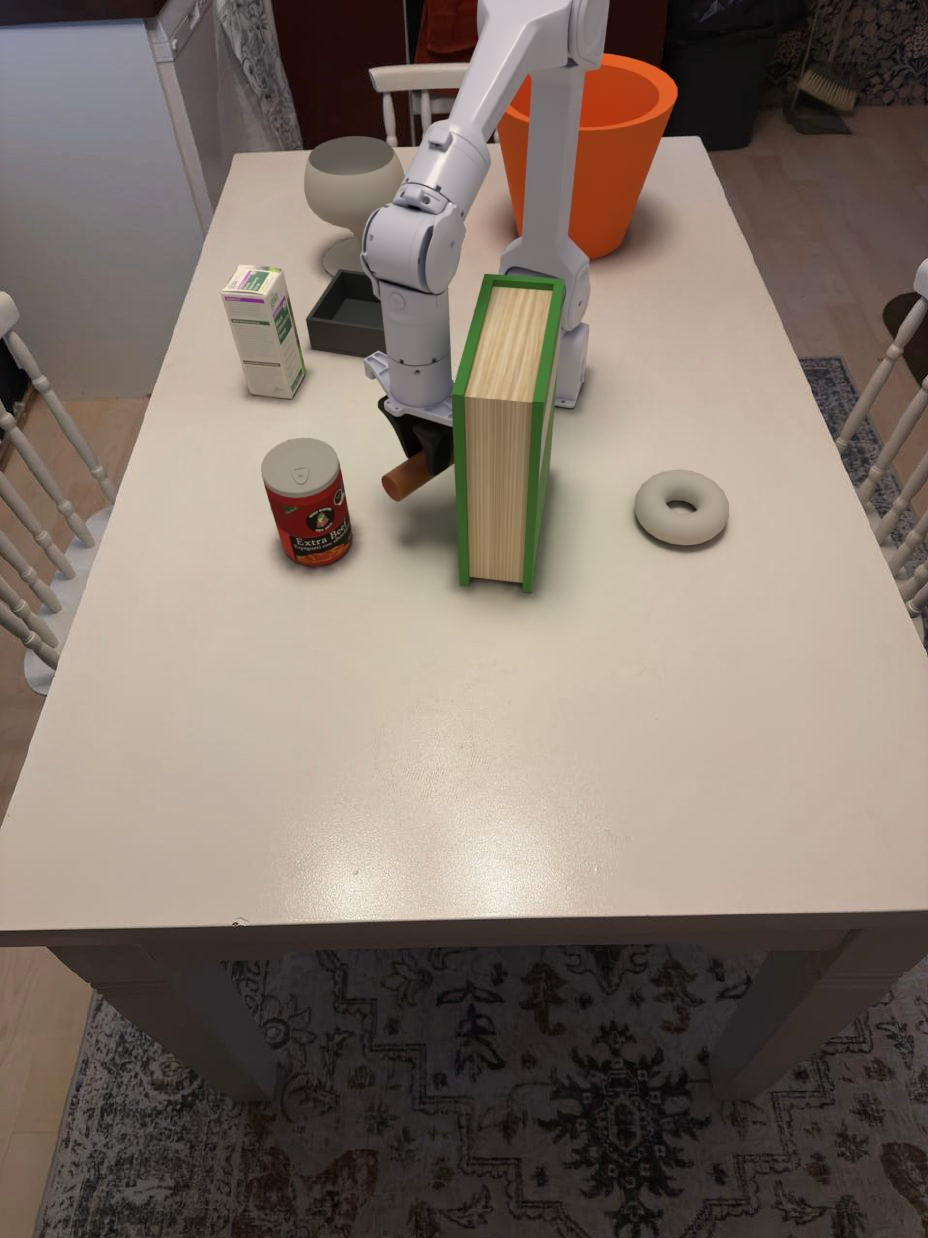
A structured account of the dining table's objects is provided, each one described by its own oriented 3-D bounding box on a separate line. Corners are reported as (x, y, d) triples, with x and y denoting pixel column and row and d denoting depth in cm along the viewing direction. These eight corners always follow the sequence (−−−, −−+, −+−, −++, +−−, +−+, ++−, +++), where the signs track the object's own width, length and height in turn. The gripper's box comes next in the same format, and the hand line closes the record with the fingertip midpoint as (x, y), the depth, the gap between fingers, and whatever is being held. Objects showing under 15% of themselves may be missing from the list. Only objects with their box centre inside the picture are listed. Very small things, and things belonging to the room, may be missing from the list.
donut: (717, 562, 87) (732, 495, 92) (725, 540, 84) (739, 473, 90) (623, 540, 89) (642, 476, 95) (627, 518, 86) (647, 454, 92)
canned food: (297, 578, 87) (276, 502, 78) (271, 529, 91) (248, 452, 82) (365, 552, 89) (352, 475, 80) (336, 504, 93) (321, 427, 84)
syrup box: (292, 400, 104) (268, 294, 93) (248, 395, 105) (218, 289, 93) (307, 372, 108) (285, 266, 96) (263, 367, 108) (237, 262, 97)
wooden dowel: (465, 456, 88) (449, 433, 88) (477, 446, 86) (459, 422, 85) (395, 505, 84) (377, 481, 84) (404, 496, 82) (386, 471, 81)
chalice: (430, 252, 125) (424, 146, 113) (375, 297, 118) (362, 189, 106) (355, 227, 129) (341, 123, 117) (298, 270, 122) (277, 164, 110)
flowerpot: (587, 177, 137) (600, 38, 121) (688, 244, 124) (717, 98, 108) (458, 221, 130) (454, 78, 114) (551, 296, 117) (561, 148, 101)
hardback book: (531, 593, 85) (543, 402, 66) (459, 584, 86) (451, 394, 66) (549, 473, 95) (564, 279, 76) (485, 467, 96) (484, 273, 77)
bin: (433, 311, 115) (431, 280, 112) (405, 363, 108) (403, 333, 105) (343, 298, 118) (339, 268, 114) (311, 349, 111) (305, 318, 107)
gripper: (331, 332, 75) (351, 447, 86) (442, 403, 69) (448, 518, 80) (390, 300, 78) (402, 415, 89) (501, 366, 72) (499, 481, 83)
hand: (427, 462), depth 85 cm, fingers closed on wooden dowel, 3 cm apart
